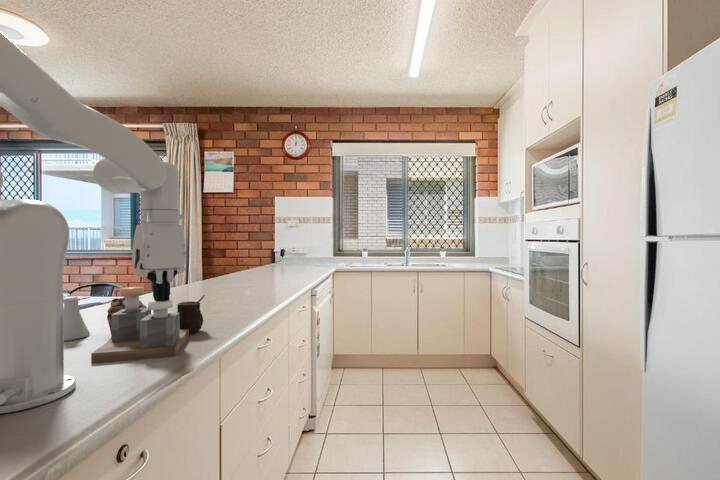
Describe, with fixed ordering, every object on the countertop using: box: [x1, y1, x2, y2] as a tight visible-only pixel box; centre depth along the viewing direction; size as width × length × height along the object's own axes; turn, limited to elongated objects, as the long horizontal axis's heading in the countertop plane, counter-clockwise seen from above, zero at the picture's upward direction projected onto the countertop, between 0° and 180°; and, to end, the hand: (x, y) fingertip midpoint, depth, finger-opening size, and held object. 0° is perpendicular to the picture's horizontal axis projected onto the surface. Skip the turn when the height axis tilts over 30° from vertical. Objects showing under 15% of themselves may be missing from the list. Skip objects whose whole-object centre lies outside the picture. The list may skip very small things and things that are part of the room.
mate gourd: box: [176, 295, 206, 335], centre depth 96 cm, size 7×8×10 cm
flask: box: [63, 297, 91, 342], centre depth 91 cm, size 7×7×10 cm
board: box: [90, 307, 190, 364], centre depth 82 cm, size 16×16×8 cm
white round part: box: [147, 298, 174, 318], centre depth 80 cm, size 5×5×6 cm
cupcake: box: [106, 296, 148, 337], centre depth 95 cm, size 10×10×10 cm
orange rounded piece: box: [119, 286, 145, 313], centre depth 85 cm, size 5×5×6 cm
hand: (161, 300), depth 80 cm, fingers closed
